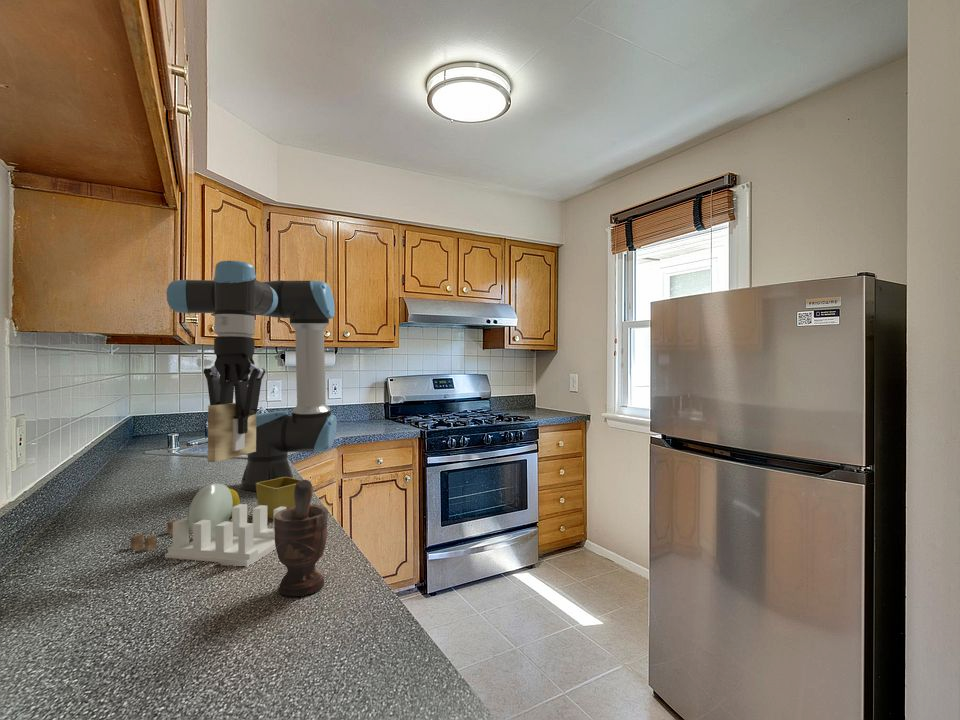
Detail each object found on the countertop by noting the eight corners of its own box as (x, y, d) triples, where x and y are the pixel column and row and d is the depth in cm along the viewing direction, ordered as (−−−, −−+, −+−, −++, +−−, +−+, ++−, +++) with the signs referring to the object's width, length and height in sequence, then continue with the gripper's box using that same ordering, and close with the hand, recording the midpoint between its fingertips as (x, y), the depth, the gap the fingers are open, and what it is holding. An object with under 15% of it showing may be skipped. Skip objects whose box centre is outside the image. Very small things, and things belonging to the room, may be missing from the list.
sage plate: (226, 527, 105) (227, 477, 105) (232, 527, 105) (232, 478, 105) (187, 546, 94) (188, 491, 94) (193, 546, 94) (194, 491, 94)
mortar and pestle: (344, 595, 79) (345, 475, 79) (293, 613, 73) (293, 484, 73) (314, 572, 87) (315, 464, 87) (266, 588, 81) (266, 471, 82)
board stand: (174, 533, 107) (174, 519, 107) (190, 534, 107) (190, 521, 107) (130, 552, 97) (130, 537, 97) (148, 553, 96) (148, 538, 96)
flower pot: (306, 516, 120) (306, 480, 120) (275, 526, 113) (275, 488, 113) (285, 510, 125) (285, 476, 125) (254, 519, 117) (254, 483, 117)
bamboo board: (249, 451, 104) (250, 401, 104) (256, 451, 104) (256, 401, 104) (207, 461, 93) (208, 405, 93) (214, 462, 92) (215, 405, 92)
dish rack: (220, 533, 108) (220, 501, 108) (292, 538, 104) (292, 506, 104) (165, 560, 93) (165, 523, 93) (246, 567, 90) (247, 529, 90)
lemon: (228, 524, 114) (229, 491, 114) (208, 522, 115) (209, 489, 115) (244, 517, 119) (244, 485, 119) (225, 515, 120) (225, 484, 120)
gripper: (190, 335, 97) (189, 451, 96) (253, 334, 94) (252, 454, 93) (217, 337, 104) (216, 445, 104) (277, 337, 101) (276, 447, 101)
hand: (233, 449), depth 98 cm, fingers closed on bamboo board, 2 cm apart
